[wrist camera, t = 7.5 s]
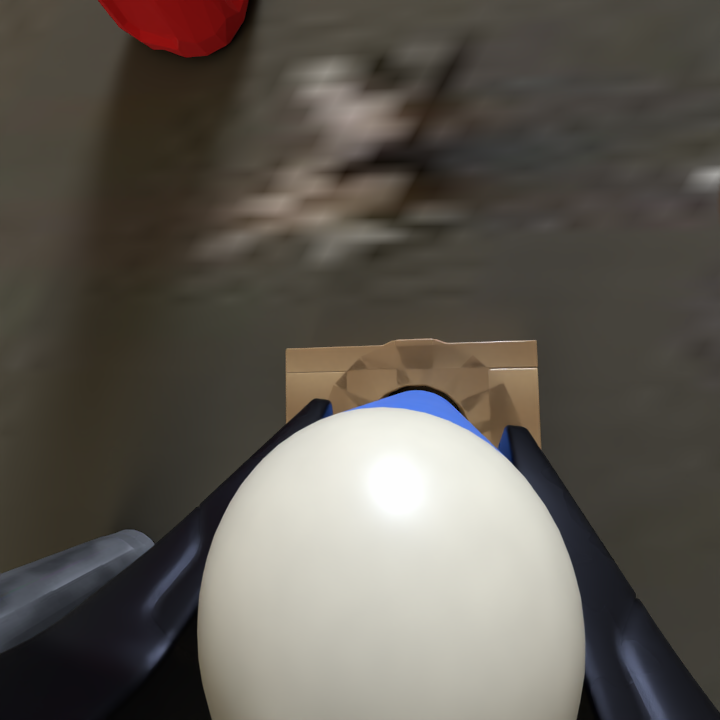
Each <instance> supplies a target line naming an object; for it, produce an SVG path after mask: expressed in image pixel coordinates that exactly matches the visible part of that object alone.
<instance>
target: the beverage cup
mask: <svg viewBox="0 0 720 720" xmlns="http://www.w3.org/2000/svg"><path fill="white" fill-rule="evenodd" d="M154 545H155V544H154V543H153V541H152V540H151V539H150V538H149V537H147V536H146V535H145V534H144V533H142V532H139V531H136V530H122V531H119V532H117V533H114V534H111V535H108V536H104V537H99V538H97V539H94V540H91V541H89V542H86V543H83V544H80V545H78V546H75V547H72V548H70V549H67V550H64V551H61V552H59V553H56V554H53V555H51V556H48V557H45V558H43V559H40V560H37V561H34V562H32V563H29V564H26V565H24V566H21V567H18V568H15V569H13V570H10V571H7V572H5V573H2V574H0V653H2V652H4V651H6V650H9V649H11V648H13V647H15V646H17V645H19V644H21V643H23V642H25V641H26V640H28V639H30V638H32V637H34V636H35V635H37V634H39V633H40V632H42V631H44V630H45V629H47V628H48V627H50V626H51V625H53V624H54V623H56V622H57V621H59V620H60V619H61V618H63V617H64V616H65V615H67V614H68V613H69V612H71V611H72V610H73V609H74V608H76V607H77V606H78V605H79V604H81V603H82V602H83V601H85V600H86V599H87V598H88V597H90V596H91V595H92V594H93V593H95V592H96V591H97V590H98V589H100V588H101V587H102V586H104V585H105V584H106V583H107V582H109V581H110V580H111V579H112V578H114V577H115V576H116V575H118V574H119V573H120V572H121V571H123V570H124V569H125V568H126V567H128V566H129V565H130V564H132V563H133V562H134V561H135V560H136V559H138V558H139V557H140V556H141V555H143V554H144V553H145V552H146V551H147V550H149V549H150V548H151V547H152V546H154Z"/></svg>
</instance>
